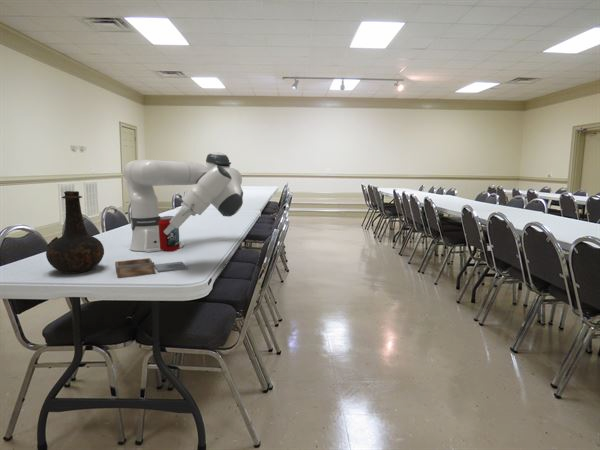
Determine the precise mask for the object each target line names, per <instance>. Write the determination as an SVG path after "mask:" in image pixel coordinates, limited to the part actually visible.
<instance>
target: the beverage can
mask: <svg viewBox="0 0 600 450" xmlns="http://www.w3.org/2000/svg"><path fill="white" fill-rule="evenodd" d="M174 216H175V215H165V216H160V220H159V239H160V249H161V250H160V251H163V252H166V253H172V252H176V251H178V250H179V249H181V248H180V243H179V242H180V227H179V228H177V229H176V228H174V229H173V230H172V231H171V232H170V233H169V234H168V235H166V234H165V233H164V230H165V229H166V228H167V227H168V226H169V225H170V220H171V219H172V218H173V217H174Z"/></svg>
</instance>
